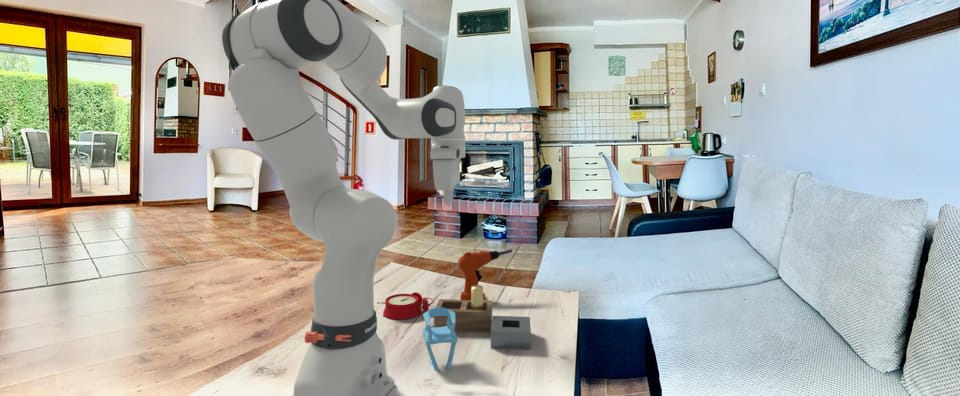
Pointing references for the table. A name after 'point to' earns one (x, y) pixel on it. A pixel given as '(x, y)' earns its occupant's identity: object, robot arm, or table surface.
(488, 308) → the box
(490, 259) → the toy drill
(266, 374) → the table surface
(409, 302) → the alarm clock
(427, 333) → the chair
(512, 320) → the socket block
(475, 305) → the gold rounded rod
